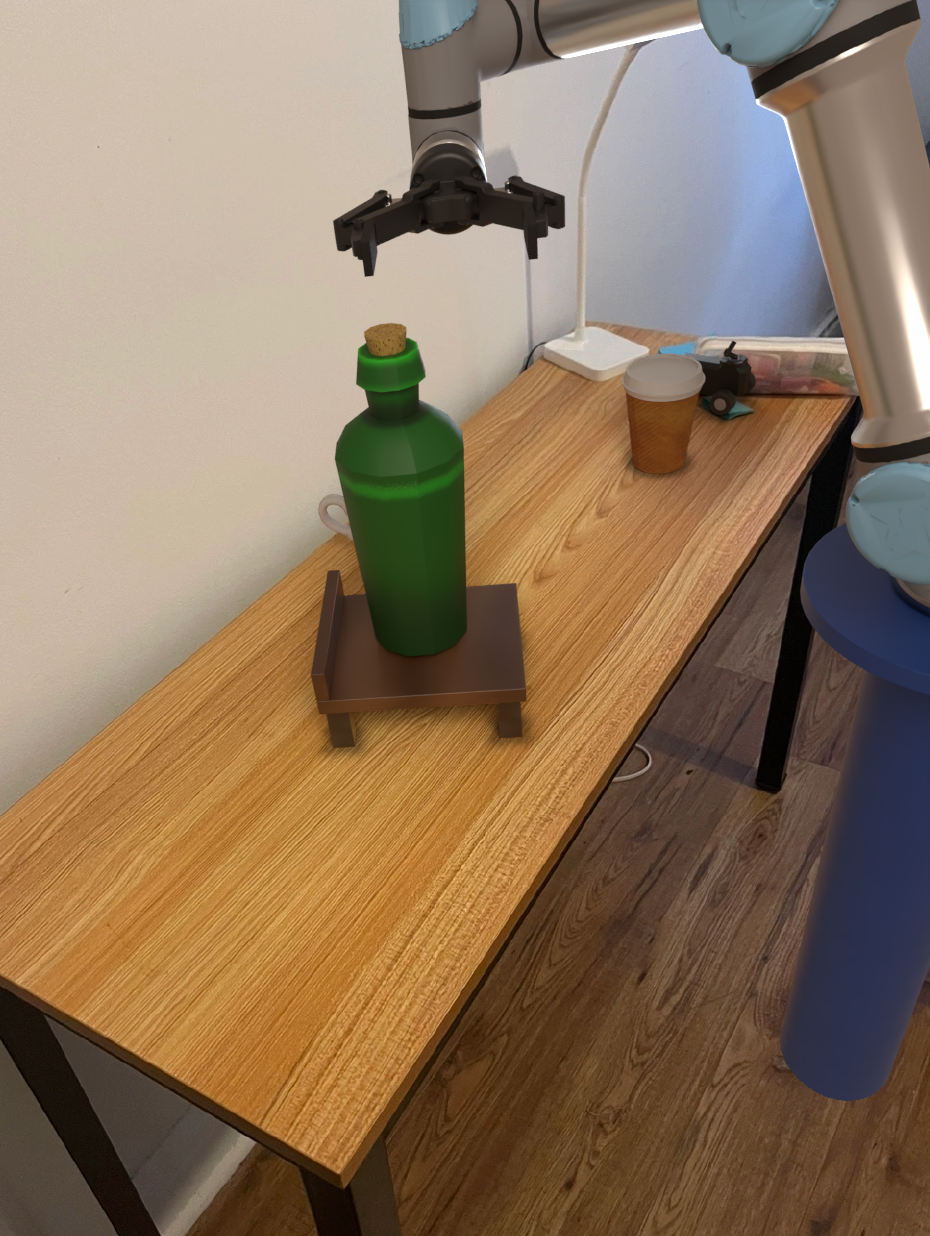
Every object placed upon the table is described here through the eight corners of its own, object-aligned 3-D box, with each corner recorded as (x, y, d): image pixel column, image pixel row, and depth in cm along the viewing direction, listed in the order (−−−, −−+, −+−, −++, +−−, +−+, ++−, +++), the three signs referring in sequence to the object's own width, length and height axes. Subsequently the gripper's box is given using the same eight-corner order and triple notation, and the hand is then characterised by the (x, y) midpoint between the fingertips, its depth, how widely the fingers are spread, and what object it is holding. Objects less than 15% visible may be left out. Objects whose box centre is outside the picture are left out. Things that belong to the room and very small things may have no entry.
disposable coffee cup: (690, 440, 129) (697, 348, 121) (705, 477, 122) (714, 381, 114) (614, 447, 130) (616, 356, 122) (625, 484, 123) (628, 389, 115)
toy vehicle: (731, 421, 132) (738, 355, 126) (626, 401, 140) (628, 338, 134) (756, 396, 137) (764, 331, 131) (653, 378, 144) (656, 316, 139)
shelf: (518, 632, 102) (514, 556, 96) (528, 740, 90) (524, 660, 84) (341, 644, 104) (327, 570, 98) (327, 752, 92) (310, 674, 86)
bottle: (459, 588, 99) (433, 296, 81) (495, 650, 91) (475, 341, 73) (353, 614, 97) (302, 322, 79) (379, 680, 89) (330, 371, 71)
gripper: (577, 211, 101) (602, 282, 85) (328, 237, 103) (307, 312, 87) (576, 126, 96) (603, 184, 80) (316, 156, 98) (290, 218, 82)
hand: (449, 251), depth 83 cm, fingers open, 13 cm apart
